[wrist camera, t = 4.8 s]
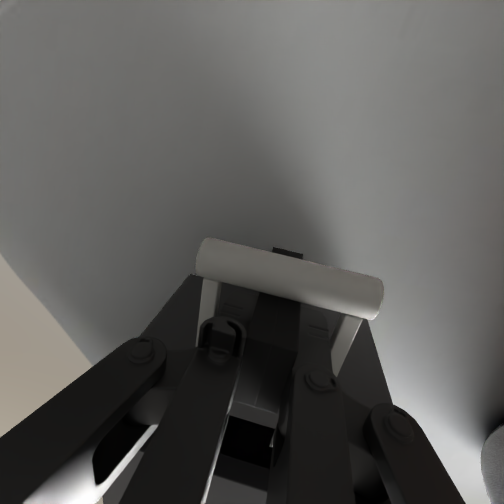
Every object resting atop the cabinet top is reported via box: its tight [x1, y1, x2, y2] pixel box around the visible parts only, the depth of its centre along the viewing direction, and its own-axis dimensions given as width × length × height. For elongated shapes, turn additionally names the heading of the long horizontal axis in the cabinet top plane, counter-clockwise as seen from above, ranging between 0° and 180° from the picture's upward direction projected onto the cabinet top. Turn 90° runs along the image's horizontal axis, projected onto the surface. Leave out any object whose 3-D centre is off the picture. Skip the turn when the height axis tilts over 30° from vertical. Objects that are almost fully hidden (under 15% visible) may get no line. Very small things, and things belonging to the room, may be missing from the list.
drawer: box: [139, 237, 393, 469], centre depth 14 cm, size 15×10×7 cm
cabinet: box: [102, 432, 270, 504], centre depth 17 cm, size 12×12×9 cm
